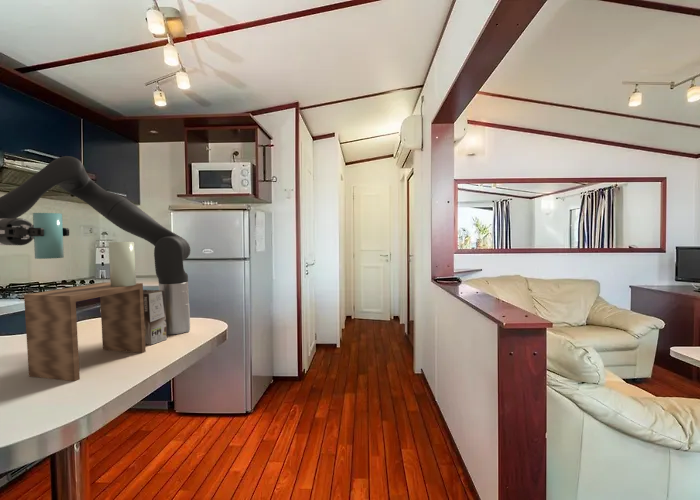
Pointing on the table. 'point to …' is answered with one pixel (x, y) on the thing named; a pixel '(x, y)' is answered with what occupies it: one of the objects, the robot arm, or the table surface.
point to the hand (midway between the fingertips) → (55, 232)
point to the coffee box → (154, 316)
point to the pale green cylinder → (122, 264)
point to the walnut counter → (61, 326)
